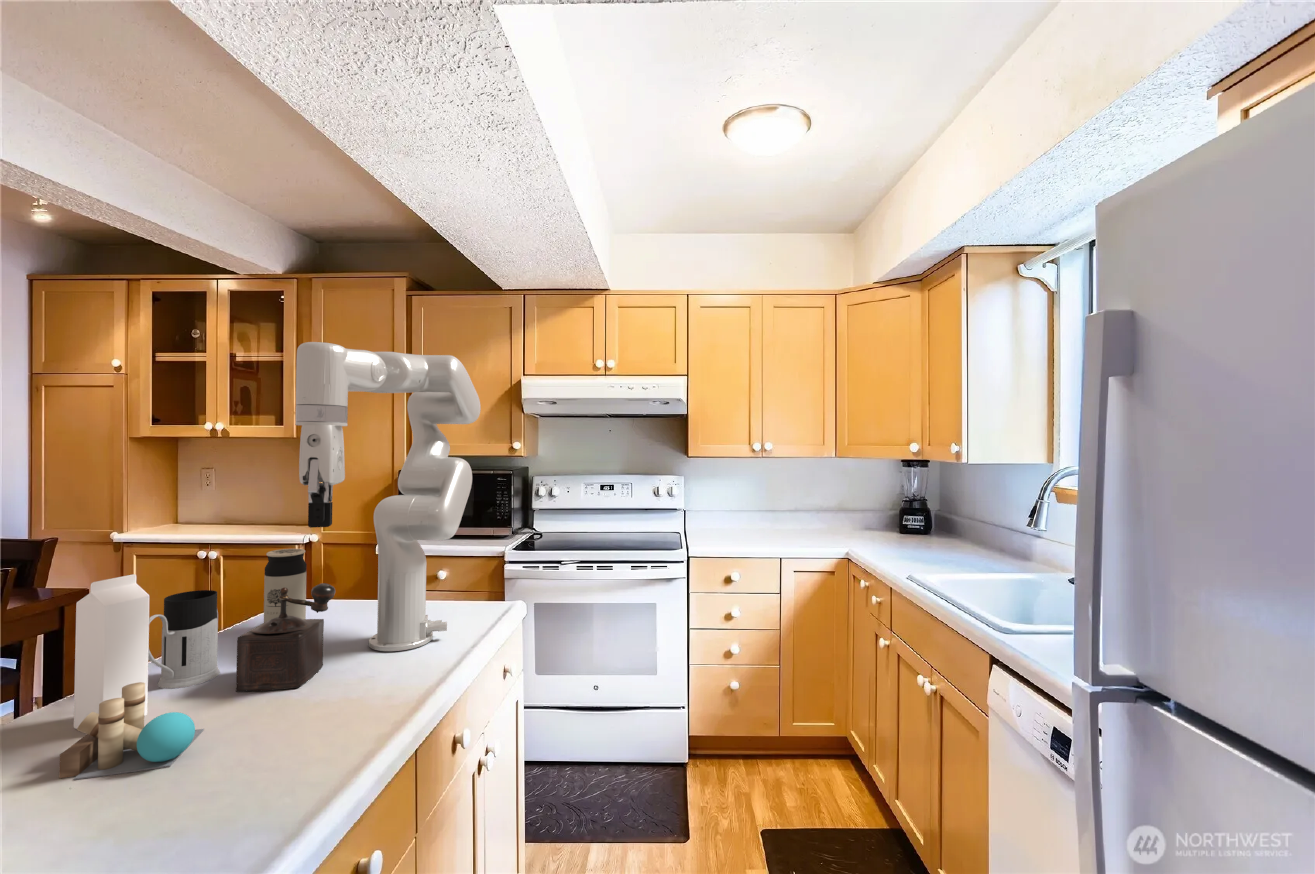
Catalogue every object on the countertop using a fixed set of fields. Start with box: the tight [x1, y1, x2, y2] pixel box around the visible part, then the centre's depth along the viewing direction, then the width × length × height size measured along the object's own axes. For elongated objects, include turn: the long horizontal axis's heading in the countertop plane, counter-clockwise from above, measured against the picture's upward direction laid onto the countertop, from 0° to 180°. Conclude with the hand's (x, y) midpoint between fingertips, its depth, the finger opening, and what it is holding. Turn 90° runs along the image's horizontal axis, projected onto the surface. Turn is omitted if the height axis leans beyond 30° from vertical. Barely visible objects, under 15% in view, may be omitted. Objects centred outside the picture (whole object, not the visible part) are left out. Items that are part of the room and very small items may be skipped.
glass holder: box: [148, 589, 221, 690], centre depth 100 cm, size 9×14×15 cm, turn 2°
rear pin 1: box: [98, 698, 124, 770], centre depth 75 cm, size 2×2×8 cm
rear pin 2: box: [122, 682, 145, 750], centre depth 80 cm, size 2×2×8 cm
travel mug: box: [263, 548, 307, 623], centre depth 128 cm, size 8×8×18 cm
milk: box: [73, 573, 150, 730], centre depth 87 cm, size 6×6×22 cm
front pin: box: [76, 712, 142, 752], centre depth 77 cm, size 2×2×8 cm
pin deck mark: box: [73, 728, 205, 781], centre depth 78 cm, size 10×10×1 cm
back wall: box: [58, 733, 98, 779], centre depth 77 cm, size 2×9×3 cm, turn 18°
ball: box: [137, 711, 196, 762], centre depth 77 cm, size 6×6×6 cm
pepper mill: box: [235, 582, 336, 693], centre depth 103 cm, size 16×11×18 cm
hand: (320, 526), depth 94 cm, fingers closed
